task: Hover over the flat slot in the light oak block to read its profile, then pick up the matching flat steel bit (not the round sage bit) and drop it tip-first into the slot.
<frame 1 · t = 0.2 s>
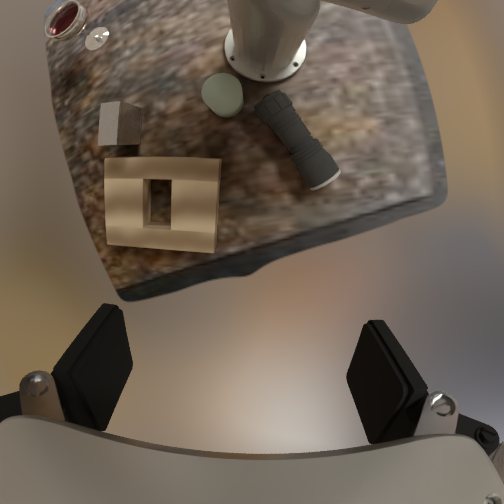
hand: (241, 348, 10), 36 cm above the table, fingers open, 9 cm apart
flashlight: (295, 140, 41), on the table
round bit: (227, 102, 39), on the table
wineglass: (97, 38, 33), on the table
socket block: (164, 199, 44), on the table
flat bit: (133, 126, 40), on the table
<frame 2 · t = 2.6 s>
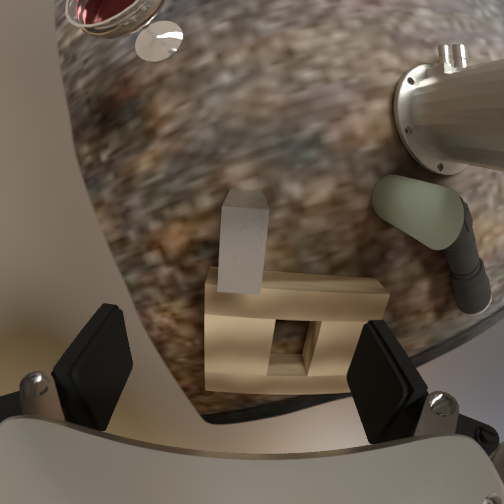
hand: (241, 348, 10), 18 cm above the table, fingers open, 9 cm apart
flashlight: (451, 251, 29), on the table
round bit: (392, 198, 27), on the table
wineglass: (158, 41, 21), on the table
socket block: (288, 328, 32), on the table
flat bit: (243, 220, 27), on the table
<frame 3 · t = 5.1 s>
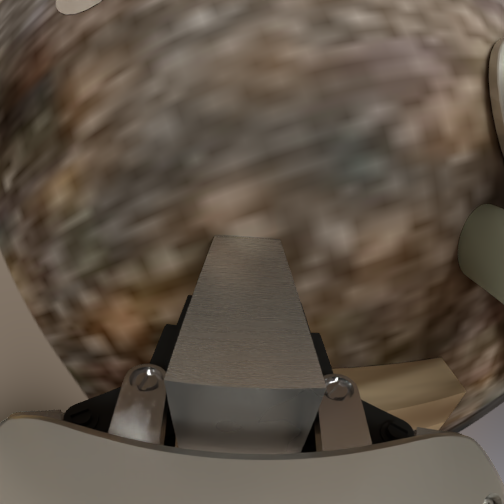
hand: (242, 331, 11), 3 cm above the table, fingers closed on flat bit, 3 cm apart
round bit: (483, 242, 13), on the table
socket block: (311, 430, 19), on the table
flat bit: (243, 295, 14), on the table, touching gripper
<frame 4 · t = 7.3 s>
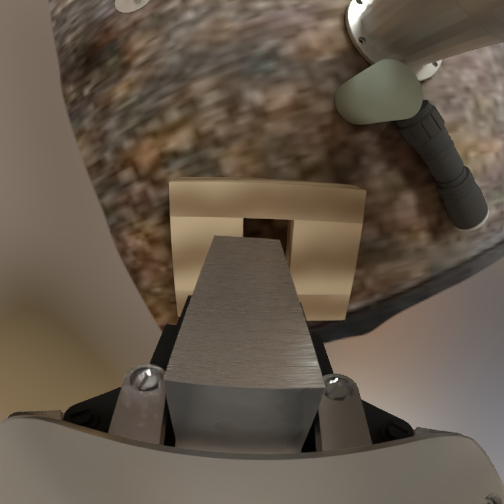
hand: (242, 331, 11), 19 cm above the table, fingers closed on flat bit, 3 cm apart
flashlight: (434, 165, 27), on the table
round bit: (357, 102, 25), on the table
socket block: (264, 244, 31), on the table
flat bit: (243, 294, 14), point 16 cm above the table, touching gripper
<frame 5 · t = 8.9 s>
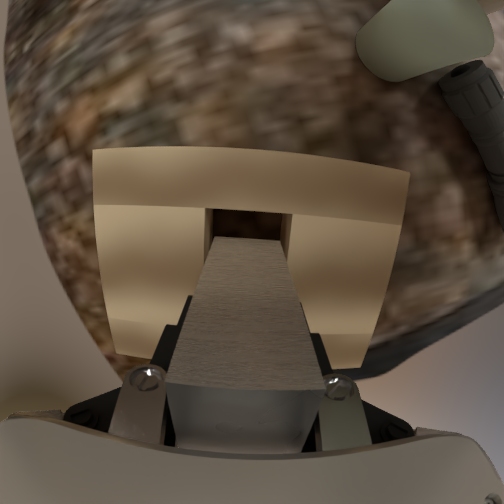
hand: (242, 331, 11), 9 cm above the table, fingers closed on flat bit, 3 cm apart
flashlight: (482, 152, 17), on the table
round bit: (386, 51, 15), on the table
socket block: (245, 252, 20), on the table
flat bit: (243, 295, 14), point 6 cm above the table, touching gripper
when the fingers open (5 cm above the table, at t = 10.1 s): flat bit drops 2 cm, on the table.
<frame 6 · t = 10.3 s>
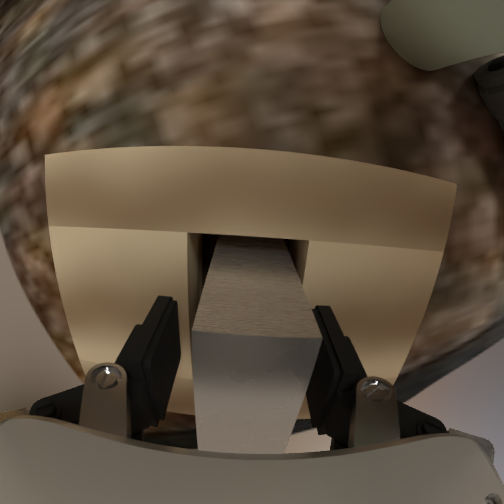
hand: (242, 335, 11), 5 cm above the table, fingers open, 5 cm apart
round bit: (416, 34, 11), on the table
socket block: (243, 281, 16), on the table
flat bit: (245, 281, 16), on the table
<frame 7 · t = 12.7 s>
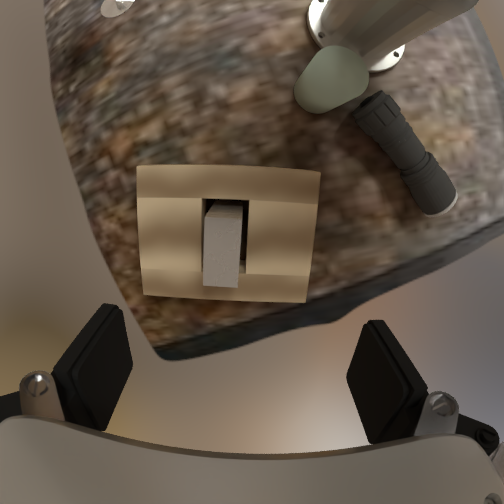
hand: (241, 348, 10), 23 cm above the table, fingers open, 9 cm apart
flashlight: (398, 154, 30), on the table
round bit: (315, 92, 27), on the table
wineglass: (117, 3, 22), on the table
socket block: (226, 227, 32), on the table
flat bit: (227, 227, 32), on the table
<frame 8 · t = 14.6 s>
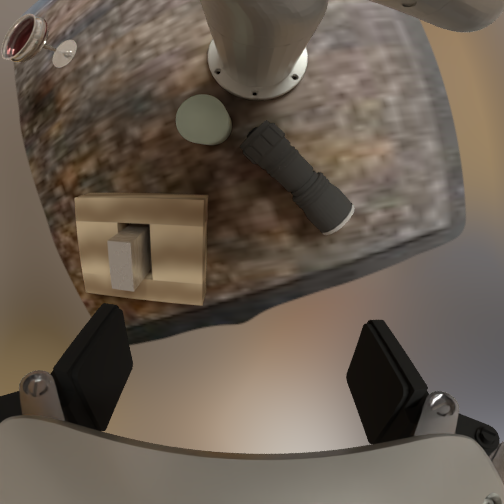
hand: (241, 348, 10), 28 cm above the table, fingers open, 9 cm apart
flashlight: (295, 175, 36), on the table
round bit: (212, 126, 33), on the table
wineglass: (64, 53, 28), on the table
socket block: (144, 242, 38), on the table
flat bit: (145, 242, 38), on the table
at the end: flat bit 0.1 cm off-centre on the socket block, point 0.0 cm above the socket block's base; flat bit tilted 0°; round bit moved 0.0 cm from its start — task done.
